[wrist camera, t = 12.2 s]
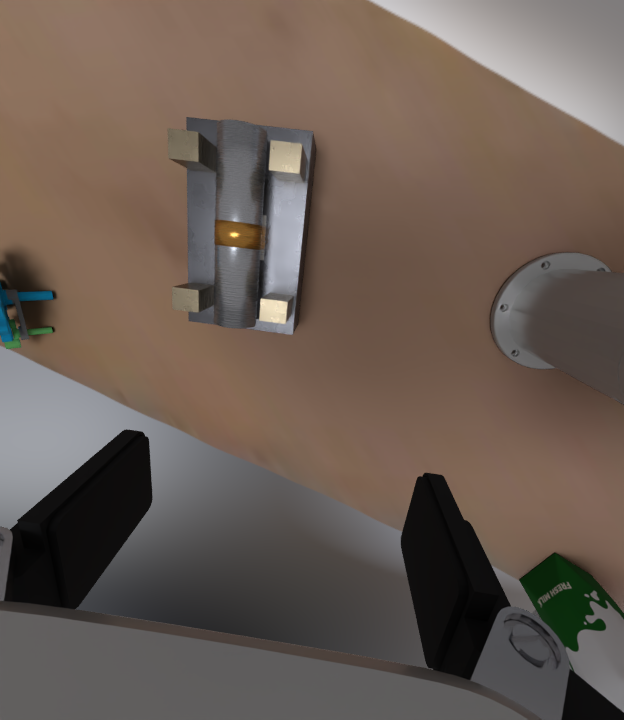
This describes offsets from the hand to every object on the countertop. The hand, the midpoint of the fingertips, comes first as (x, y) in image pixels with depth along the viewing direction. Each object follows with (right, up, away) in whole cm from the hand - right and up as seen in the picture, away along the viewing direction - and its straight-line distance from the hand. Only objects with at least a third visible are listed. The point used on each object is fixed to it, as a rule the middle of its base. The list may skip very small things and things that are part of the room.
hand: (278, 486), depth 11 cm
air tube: (-5, +15, +18) cm, 24 cm away
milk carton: (+37, -28, +37) cm, 59 cm away
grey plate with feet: (-5, +18, +24) cm, 30 cm away
